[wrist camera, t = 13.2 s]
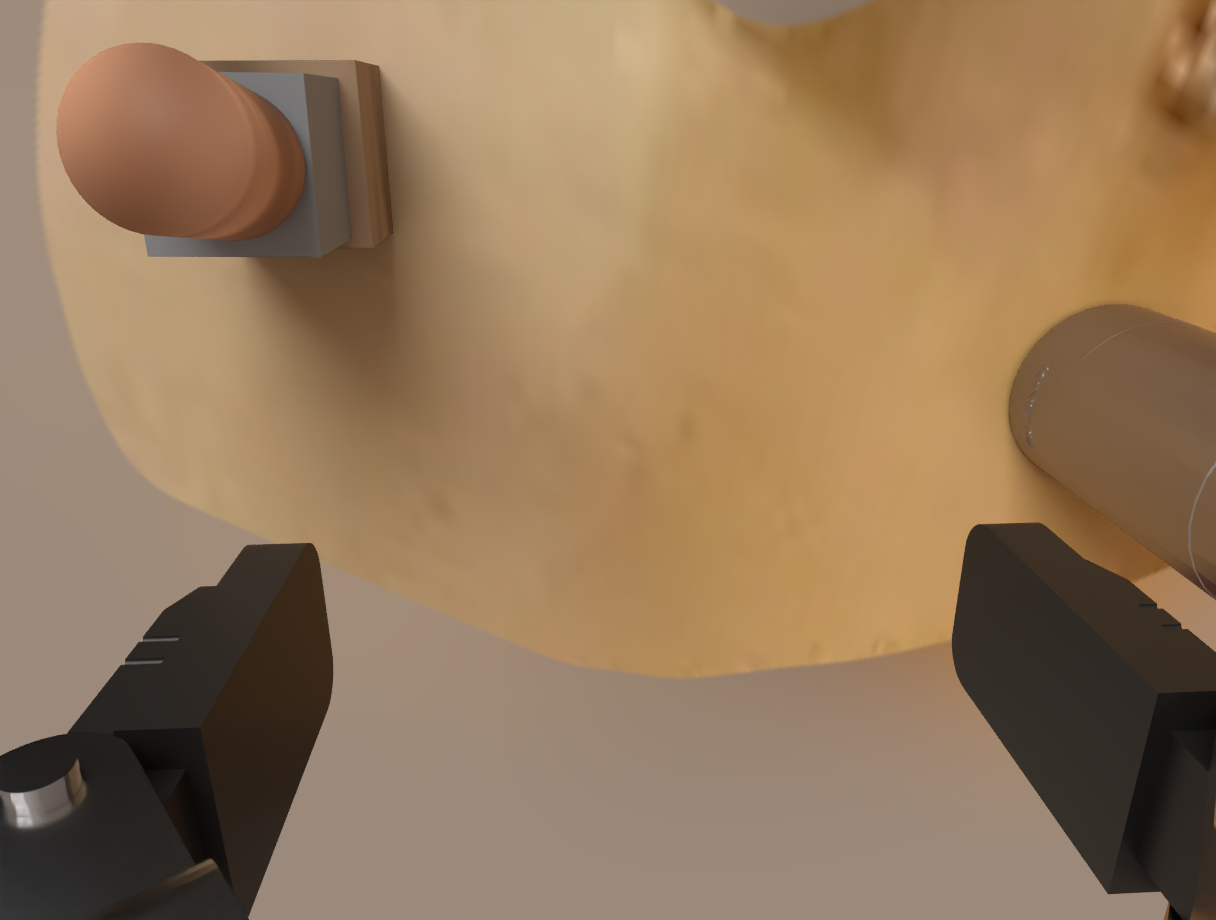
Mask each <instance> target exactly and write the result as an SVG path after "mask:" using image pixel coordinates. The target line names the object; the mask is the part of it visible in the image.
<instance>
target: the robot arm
mask: <svg viewBox="0 0 1216 920" xmlns="http://www.w3.org/2000/svg"><path fill="white" fill-rule="evenodd" d="M1009 417H1010V422H1011V428H1012V433H1013V435H1014V437H1015V439H1016V441H1017V444H1018V446H1019V448H1020V449H1021V450H1022V451H1023V453H1024V454H1025V455H1026V456H1027V458H1028V459H1029V460H1030V461H1031V462H1033V463H1034V464H1035V465H1037V466H1038V467H1039V468H1041V469H1042V470H1043V471H1045V472H1046V473H1047V474H1049V475H1050V476H1051V477H1053V478H1054V479H1055V480H1056V481H1058V482H1059V483H1060V484H1062V485H1063V486H1064V487H1066V488H1067V489H1068V490H1070V491H1071V492H1072V493H1073V494H1074V495H1076V496H1077V497H1078V498H1080V499H1081V500H1082V501H1084V502H1085V503H1086V504H1088V505H1089V506H1090V507H1092V508H1093V509H1094V510H1096V511H1097V512H1098V513H1100V514H1101V515H1102V516H1104V517H1105V518H1106V519H1108V520H1109V521H1111V522H1112V523H1113V524H1115V525H1116V526H1117V527H1119V528H1120V529H1121V530H1123V531H1124V532H1125V533H1127V534H1128V535H1129V536H1131V537H1132V538H1133V539H1135V540H1136V541H1137V542H1139V543H1140V544H1141V545H1143V546H1144V547H1145V548H1147V549H1148V550H1149V551H1151V552H1152V553H1153V554H1155V555H1156V556H1157V557H1159V558H1160V559H1161V560H1163V561H1164V562H1165V563H1167V564H1168V565H1169V566H1171V567H1172V568H1174V569H1175V570H1176V571H1178V572H1179V573H1180V574H1182V575H1183V576H1184V577H1186V578H1187V579H1189V580H1190V581H1191V582H1192V583H1194V584H1195V585H1196V586H1198V587H1199V588H1200V589H1202V590H1203V591H1204V592H1206V593H1207V594H1208V595H1210V596H1211V597H1212V598H1214V599H1215V600H1216V333H1214V332H1212V331H1209V330H1206V329H1203V328H1200V327H1198V326H1195V325H1192V324H1189V323H1186V322H1184V321H1181V320H1178V319H1175V318H1172V317H1169V316H1166V315H1163V314H1160V313H1157V312H1154V311H1151V310H1148V309H1145V308H1141V307H1136V306H1132V305H1105V306H1100V307H1095V308H1091V309H1087V310H1085V311H1083V312H1080V313H1078V314H1076V315H1073V316H1071V317H1069V318H1067V319H1066V320H1064V321H1063V322H1061V323H1060V324H1058V325H1057V326H1055V327H1054V328H1052V329H1051V330H1050V331H1049V332H1048V333H1047V334H1046V335H1045V336H1044V337H1042V338H1041V339H1040V340H1039V341H1038V342H1037V343H1036V344H1035V346H1034V347H1033V348H1032V350H1031V351H1030V353H1029V354H1028V355H1027V357H1026V358H1025V359H1024V361H1023V363H1022V365H1021V367H1020V369H1019V371H1018V373H1017V375H1016V377H1015V380H1014V384H1013V388H1012V392H1011V395H1010V409H1009ZM952 652H953V660H954V665H955V669H956V673H957V675H958V678H959V680H960V682H961V684H962V686H963V688H964V689H965V690H966V692H967V693H968V695H969V696H970V698H971V699H972V700H973V702H974V703H975V705H976V706H977V707H978V709H979V710H980V711H981V713H982V715H983V716H984V718H985V719H986V720H987V722H988V723H989V725H990V726H991V728H992V729H993V730H994V732H995V733H996V735H997V736H998V738H999V739H1000V740H1001V742H1002V743H1003V745H1004V746H1005V748H1006V749H1007V750H1008V752H1009V753H1010V755H1011V756H1012V757H1013V759H1014V760H1015V762H1016V763H1017V765H1018V766H1019V768H1020V769H1021V770H1022V772H1023V773H1024V775H1025V776H1026V777H1027V779H1028V780H1029V782H1030V783H1031V785H1032V786H1033V787H1034V789H1035V790H1036V791H1037V793H1038V795H1039V796H1040V797H1041V799H1042V800H1043V802H1044V803H1045V805H1046V806H1047V807H1048V809H1049V810H1050V812H1051V813H1052V815H1053V816H1054V817H1055V819H1056V820H1057V822H1058V823H1059V824H1060V826H1061V827H1062V829H1063V830H1064V832H1065V833H1066V835H1067V836H1068V837H1069V839H1070V840H1071V842H1072V843H1073V845H1074V846H1075V847H1076V849H1077V850H1078V852H1079V853H1080V854H1081V856H1082V857H1083V859H1084V860H1085V861H1086V863H1087V864H1088V866H1089V867H1090V869H1091V870H1092V871H1093V873H1094V874H1095V876H1096V877H1097V879H1098V880H1099V882H1100V883H1101V884H1102V886H1103V887H1104V889H1105V890H1106V891H1107V893H1108V894H1120V893H1140V892H1161V893H1162V894H1163V895H1164V896H1165V898H1166V899H1167V900H1168V902H1169V903H1168V907H1167V910H1166V914H1165V917H1164V920H1216V652H1215V651H1213V650H1212V649H1211V648H1210V647H1209V646H1207V645H1206V644H1205V643H1204V642H1203V641H1201V640H1200V639H1199V638H1198V637H1197V636H1195V635H1194V634H1193V633H1192V632H1190V631H1189V630H1188V629H1182V628H1181V623H1179V622H1178V621H1177V620H1176V619H1175V618H1173V617H1172V616H1171V615H1170V614H1169V613H1167V612H1166V611H1165V610H1163V609H1158V608H1157V603H1155V602H1154V601H1153V600H1152V599H1150V598H1149V597H1148V596H1147V595H1146V594H1144V593H1143V592H1142V591H1141V590H1140V589H1138V588H1137V587H1136V586H1135V585H1134V584H1132V583H1131V582H1130V581H1129V580H1127V579H1125V578H1123V577H1121V576H1119V575H1117V574H1115V573H1113V572H1111V571H1108V570H1106V569H1104V568H1102V567H1100V566H1098V565H1096V564H1094V563H1092V562H1090V561H1088V560H1085V559H1083V558H1082V557H1081V556H1080V555H1079V554H1078V553H1076V552H1075V551H1074V550H1073V549H1072V548H1071V547H1069V546H1068V545H1067V544H1066V543H1065V542H1064V541H1062V540H1061V539H1060V538H1059V537H1058V536H1057V535H1055V534H1054V533H1053V532H1052V531H1051V530H1050V529H1048V528H1047V527H1046V526H1045V525H1043V524H1041V523H1007V524H978V525H976V526H975V527H973V528H972V530H971V531H970V533H969V535H968V538H967V541H966V546H965V552H964V559H963V566H962V572H961V579H960V586H959V593H958V599H957V606H956V613H955V620H954V627H953V634H952ZM332 685H333V656H332V649H331V642H330V634H329V627H328V619H327V612H326V604H325V597H324V590H323V584H322V576H321V568H320V562H319V557H318V553H317V551H316V548H315V547H314V545H313V544H311V543H295V544H263V545H247V546H245V547H244V548H243V550H242V551H241V553H240V554H239V555H238V557H237V558H236V559H235V561H234V562H233V564H232V565H231V566H230V568H229V569H228V571H227V572H226V573H225V575H224V576H223V578H222V579H221V580H220V582H219V583H218V585H217V586H209V587H208V586H205V587H199V588H197V589H196V590H194V591H193V592H191V593H189V594H188V595H186V596H185V597H184V598H182V599H180V600H179V601H177V602H176V603H174V604H173V605H171V606H169V607H168V608H166V609H165V610H164V611H163V612H162V613H161V615H160V616H159V617H158V618H157V620H156V621H155V622H154V624H153V625H152V626H151V627H150V628H149V630H148V631H147V632H146V634H145V635H144V636H143V642H139V643H138V644H137V645H136V647H135V648H134V649H133V650H132V652H131V653H130V654H129V655H128V657H127V658H126V659H125V665H121V666H120V667H119V668H118V669H117V670H116V672H115V673H114V674H113V676H112V677H111V678H110V679H109V681H108V682H107V683H106V684H105V686H104V687H103V688H102V690H101V691H100V692H99V693H98V695H97V696H96V697H95V698H94V700H93V701H92V702H91V704H90V705H89V706H88V707H87V709H86V710H85V711H84V713H83V714H82V715H81V716H80V718H79V719H78V720H77V721H76V723H75V724H74V725H73V726H72V728H71V729H70V730H69V732H68V733H67V734H62V735H56V736H52V737H48V738H44V739H40V740H37V741H34V742H31V743H29V744H25V745H23V746H20V747H18V748H16V749H13V750H11V751H9V752H7V753H5V754H3V755H1V756H0V920H249V918H248V916H249V914H250V911H251V908H252V906H253V903H254V901H255V898H256V896H257V893H258V890H259V887H260V885H261V882H262V880H263V877H264V875H265V872H266V869H267V867H268V864H269V862H270V859H271V856H272V854H273V851H274V848H275V846H276V843H277V841H278V838H279V835H280V833H281V830H282V828H283V825H284V822H285V820H286V817H287V815H288V812H289V809H290V807H291V804H292V801H293V799H294V796H295V794H296V791H297V788H298V786H299V783H300V781H301V778H302V775H303V773H304V770H305V768H306V765H307V762H308V760H309V757H310V755H311V752H312V749H313V747H314V744H315V742H316V739H317V736H318V734H319V731H320V729H321V726H322V723H323V721H324V718H325V715H326V713H327V710H328V707H329V704H330V699H331V693H332Z"/></svg>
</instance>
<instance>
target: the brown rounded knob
mask: <svg viewBox="0 0 1216 920" xmlns="http://www.w3.org/2000/svg"><path fill="white" fill-rule="evenodd" d="M57 141H58V148H59V152H60V156H61V160H62V163H63V165H64V168H65V171H66V173H67V175H68V176H69V178H70V180H71V182H72V184H73V185H74V187H75V188H76V190H77V191H78V193H79V194H80V195H81V196H82V197H83V199H84V200H85V201H86V202H87V203H88V204H89V205H90V206H91V207H92V208H93V209H94V210H95V211H96V212H98V213H99V214H100V215H102V216H103V217H105V218H106V219H107V220H109V221H111V222H113V223H114V224H116V225H118V226H120V227H123V228H125V229H127V230H130V231H133V232H137V233H140V234H146V235H153V236H166V237H181V238H197V239H212V240H228V241H242V240H250V239H254V238H257V237H260V236H263V235H265V234H267V233H269V232H271V231H273V230H274V229H276V228H277V227H278V226H280V225H281V224H282V223H283V222H284V221H285V220H286V219H287V218H288V217H289V216H290V214H291V213H292V211H293V210H294V209H295V207H296V205H297V203H298V201H299V199H300V196H301V193H302V190H303V185H304V179H305V161H304V155H303V150H302V147H301V144H300V141H299V138H298V136H297V134H296V132H295V130H294V128H293V127H292V125H291V123H290V122H289V121H288V119H287V118H286V117H285V116H284V114H283V113H282V112H281V111H280V110H279V109H278V108H277V107H276V106H275V105H273V104H272V103H271V102H269V101H268V100H267V99H265V98H263V97H262V96H260V95H258V94H257V93H255V92H253V91H251V90H250V89H248V88H246V87H244V86H242V85H241V84H239V83H237V82H235V81H234V80H232V79H230V78H228V77H226V76H225V75H223V74H221V73H219V72H217V71H216V70H214V69H212V68H210V67H209V66H207V65H205V64H203V63H201V62H200V61H198V60H196V59H194V58H193V57H191V56H189V55H187V54H185V53H183V52H181V51H178V50H176V49H173V48H170V47H167V46H163V45H158V44H152V43H130V44H123V45H119V46H116V47H112V48H110V49H107V50H105V51H103V52H101V53H99V54H97V55H96V56H94V57H93V58H91V59H90V60H89V61H87V62H86V63H85V64H84V65H83V66H82V67H81V68H80V69H79V70H78V71H77V72H76V73H75V74H74V76H73V77H72V79H71V80H70V82H69V84H68V85H67V87H66V89H65V91H64V94H63V96H62V99H61V102H60V106H59V110H58V116H57Z"/></svg>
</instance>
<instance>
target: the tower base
mask: <svg viewBox="0 0 1216 920" xmlns="http://www.w3.org/2000/svg"><path fill="white" fill-rule="evenodd" d="M200 62H201V63H203V64H205V65H207V66H209V67H210V68H212V69H214V70H216V71H217V72H255V73H305V74H312V75H319V76H327V77H334V78H338V88H339V99H340V111H341V122H342V134H343V145H344V157H345V168H346V180H347V191H348V203H349V214H350V225H351V237H352V239H350V240H349V241H347V242H345V243H344V244H342V245H341V246H339V247H337V248H374V247H375V246H376V245H378V244H379V243H380V242H382V241H383V240H384V239H386V238H387V237H388V236H390V235H391V234H392V233H393V224H392V213H391V201H390V190H389V179H388V167H387V156H386V145H385V133H384V122H383V111H382V99H381V88H380V77H379V66H377V65H373V64H368V63H364V62H360V61H356V60H285V61H200Z"/></svg>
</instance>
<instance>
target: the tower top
mask: <svg viewBox="0 0 1216 920" xmlns="http://www.w3.org/2000/svg"><path fill="white" fill-rule="evenodd" d="M219 73H221V74H223V75H225V76H226V77H228V78H230V79H232V80H234V81H235V82H237V83H239V84H241V85H242V86H244V87H246V88H248V89H250V90H251V91H253V92H255V93H257V94H258V95H260V96H262V97H263V98H265V99H267V100H268V101H269V102H271V103H272V104H273V105H275V106H276V107H277V108H278V109H279V110H280V111H281V112H282V113H283V114H284V116H285V117H286V118H287V119H288V121H289V122H290V123H291V125H292V127H293V128H294V130H295V132H296V134H297V136H298V138H299V141H300V144H301V147H302V150H303V155H304V161H305V179H304V185H303V190H302V193H301V196H300V199H299V201H298V203H297V205H296V207H295V209H294V210H293V211H292V213H291V214H290V216H289V217H288V218H287V219H286V220H285V221H284V222H283V223H282V224H281V225H280V226H278V227H277V228H276V229H274V230H273V231H271V232H269V233H267V234H265V235H263V236H260V237H257V238H254V239H250V240H242V241H228V240H212V239H197V238H181V237H166V236H153V235H146V234H144V236H145V242H146V248H147V254H148V256H153V257H323V256H324V255H326V254H328V253H329V252H331V251H332V250H334V249H336V248H337V247H339V246H341V245H342V244H344V243H345V242H347V241H349V240H350V239H352V237H351V225H350V214H349V203H348V191H347V180H346V168H345V157H344V145H343V134H342V122H341V111H340V99H339V88H338V78H334V77H327V76H319V75H312V74H305V73H255V72H219Z"/></svg>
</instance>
